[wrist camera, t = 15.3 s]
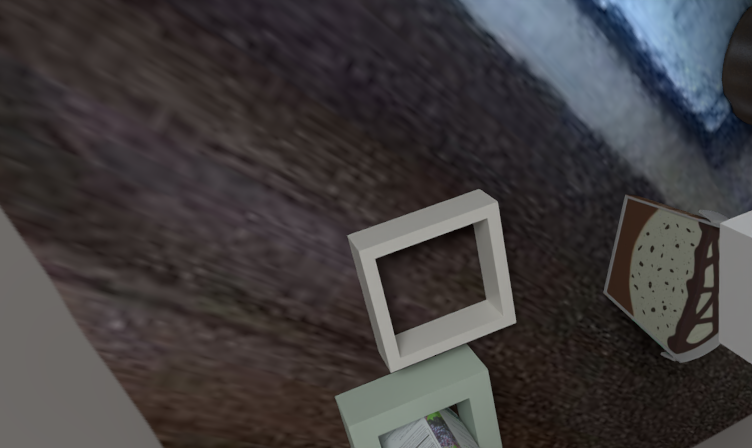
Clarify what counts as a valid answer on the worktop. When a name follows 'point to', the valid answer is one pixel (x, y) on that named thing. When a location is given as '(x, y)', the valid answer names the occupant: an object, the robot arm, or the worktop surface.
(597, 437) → the worktop surface
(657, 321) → the food container
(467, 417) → the socket
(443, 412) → the syrup box
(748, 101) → the plant pot
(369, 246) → the frame
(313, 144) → the worktop surface
